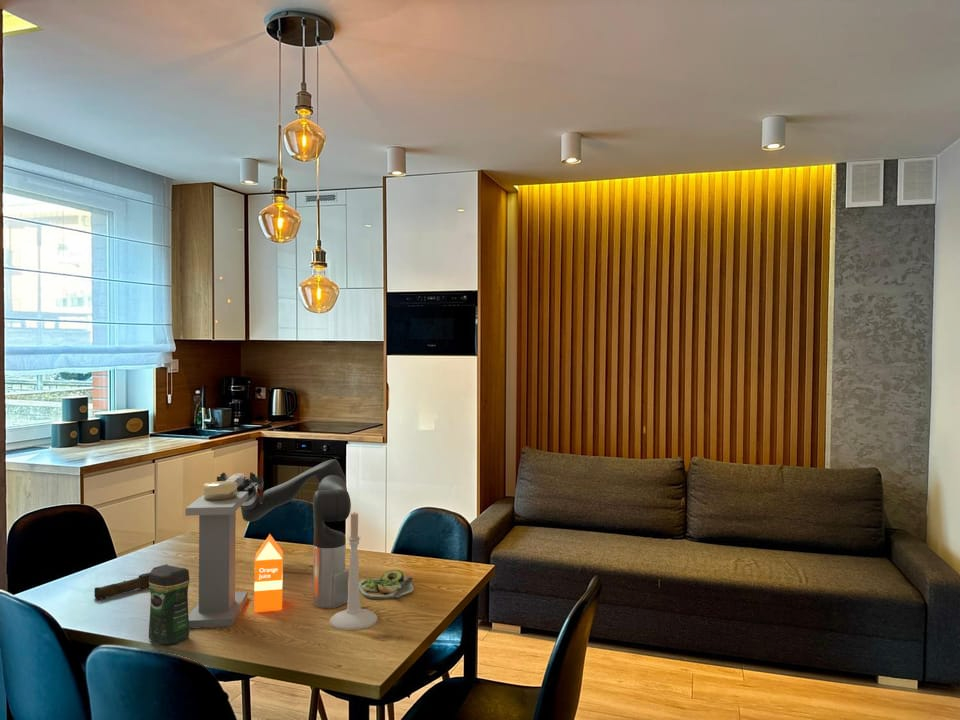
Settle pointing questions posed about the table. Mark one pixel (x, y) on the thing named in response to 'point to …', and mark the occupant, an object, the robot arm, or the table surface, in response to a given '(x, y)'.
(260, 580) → the orange juice
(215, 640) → the table surface
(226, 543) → the shelf
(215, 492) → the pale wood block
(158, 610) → the coffee jar
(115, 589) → the hand tool
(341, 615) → the candlestick
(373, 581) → the avocado toast plate
